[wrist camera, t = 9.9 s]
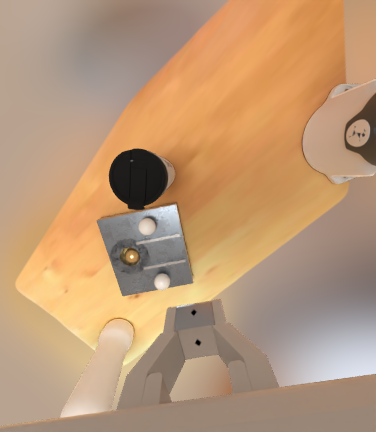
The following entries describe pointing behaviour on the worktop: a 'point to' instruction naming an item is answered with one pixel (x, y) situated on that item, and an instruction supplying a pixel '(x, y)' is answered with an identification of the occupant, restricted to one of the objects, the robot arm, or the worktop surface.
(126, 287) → the plate
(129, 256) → the brass ball
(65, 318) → the worktop surface
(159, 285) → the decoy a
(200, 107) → the worktop surface
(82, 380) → the bottle
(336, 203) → the worktop surface
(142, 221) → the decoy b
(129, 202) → the travel mug
